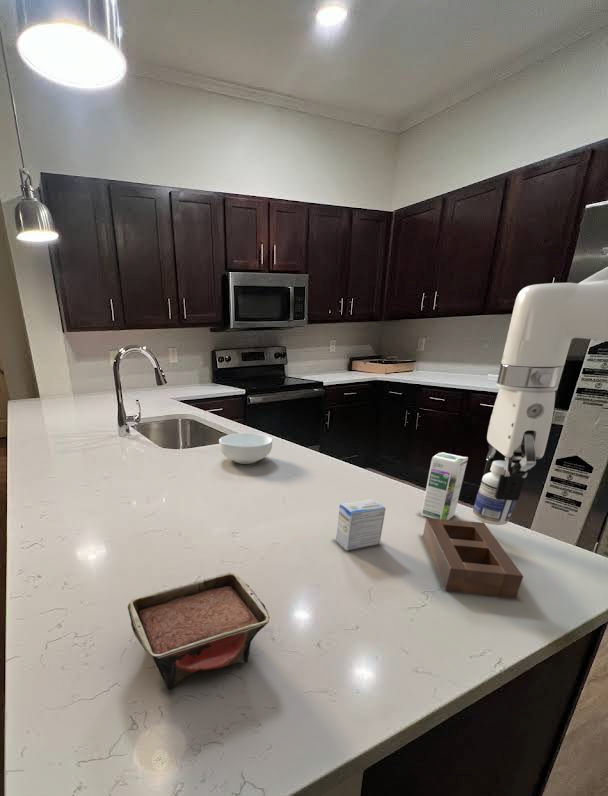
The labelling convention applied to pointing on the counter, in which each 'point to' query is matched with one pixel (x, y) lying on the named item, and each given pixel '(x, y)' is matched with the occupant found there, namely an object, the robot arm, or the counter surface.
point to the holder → (470, 558)
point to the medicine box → (360, 524)
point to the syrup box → (443, 486)
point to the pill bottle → (492, 498)
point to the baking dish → (198, 625)
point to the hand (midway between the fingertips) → (499, 490)
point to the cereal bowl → (245, 447)
